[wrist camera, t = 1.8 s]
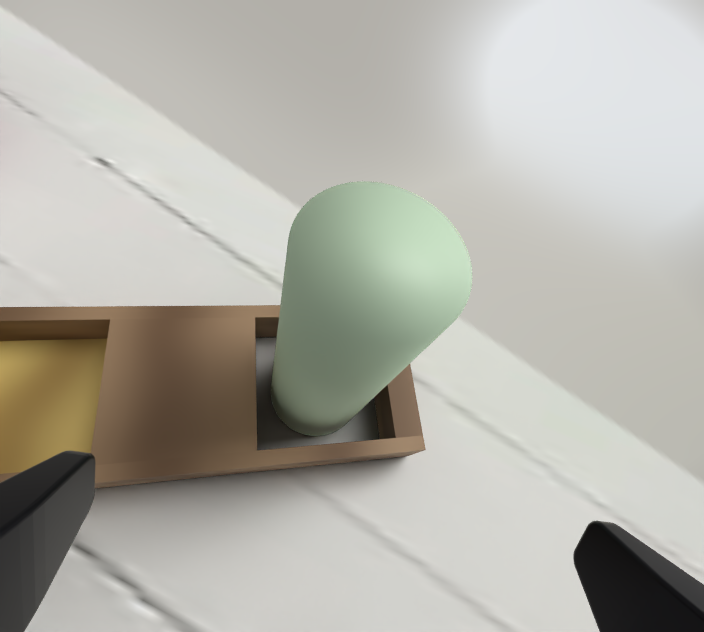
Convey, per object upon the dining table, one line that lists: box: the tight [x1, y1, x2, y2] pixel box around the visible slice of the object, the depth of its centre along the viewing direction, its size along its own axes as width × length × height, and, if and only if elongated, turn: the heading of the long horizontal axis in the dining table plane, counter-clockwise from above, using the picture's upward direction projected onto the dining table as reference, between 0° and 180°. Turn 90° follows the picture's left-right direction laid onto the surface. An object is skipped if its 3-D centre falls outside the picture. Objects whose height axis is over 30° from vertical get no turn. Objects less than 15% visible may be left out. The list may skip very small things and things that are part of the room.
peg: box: [271, 182, 472, 436], centre depth 15 cm, size 4×4×12 cm
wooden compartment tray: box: [0, 305, 425, 488], centre depth 17 cm, size 20×7×2 cm, turn 96°
